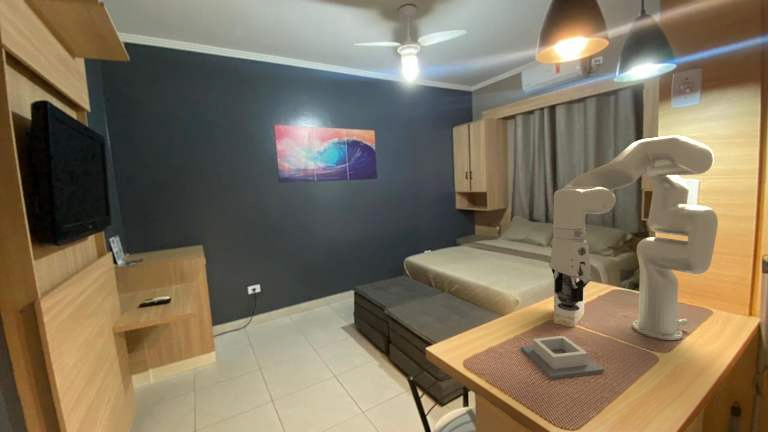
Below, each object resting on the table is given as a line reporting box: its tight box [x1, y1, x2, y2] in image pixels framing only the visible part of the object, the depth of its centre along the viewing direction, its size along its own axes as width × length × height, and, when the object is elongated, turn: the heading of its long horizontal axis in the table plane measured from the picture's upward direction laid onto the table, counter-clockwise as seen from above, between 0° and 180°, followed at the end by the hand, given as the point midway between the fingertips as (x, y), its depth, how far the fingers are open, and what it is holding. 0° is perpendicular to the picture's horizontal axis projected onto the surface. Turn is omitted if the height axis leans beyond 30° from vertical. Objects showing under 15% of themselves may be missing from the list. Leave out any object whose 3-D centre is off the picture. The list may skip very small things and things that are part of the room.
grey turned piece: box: [557, 274, 579, 311], centre depth 87 cm, size 6×6×12 cm
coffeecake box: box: [553, 274, 585, 329], centre depth 116 cm, size 15×7×20 cm, turn 136°
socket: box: [520, 335, 604, 380], centre depth 91 cm, size 15×15×4 cm
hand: (568, 296), depth 88 cm, fingers closed on grey turned piece, 5 cm apart
